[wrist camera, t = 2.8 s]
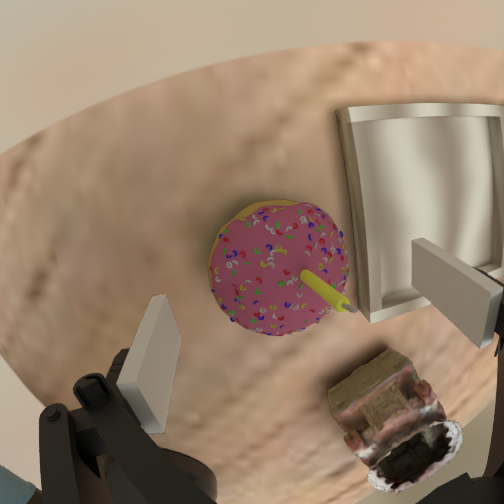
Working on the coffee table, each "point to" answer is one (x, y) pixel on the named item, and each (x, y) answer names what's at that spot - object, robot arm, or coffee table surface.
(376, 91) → the coffee table surface
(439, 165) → the divided tray
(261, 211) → the cupcake
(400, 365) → the decorative box
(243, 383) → the coffee table surface
